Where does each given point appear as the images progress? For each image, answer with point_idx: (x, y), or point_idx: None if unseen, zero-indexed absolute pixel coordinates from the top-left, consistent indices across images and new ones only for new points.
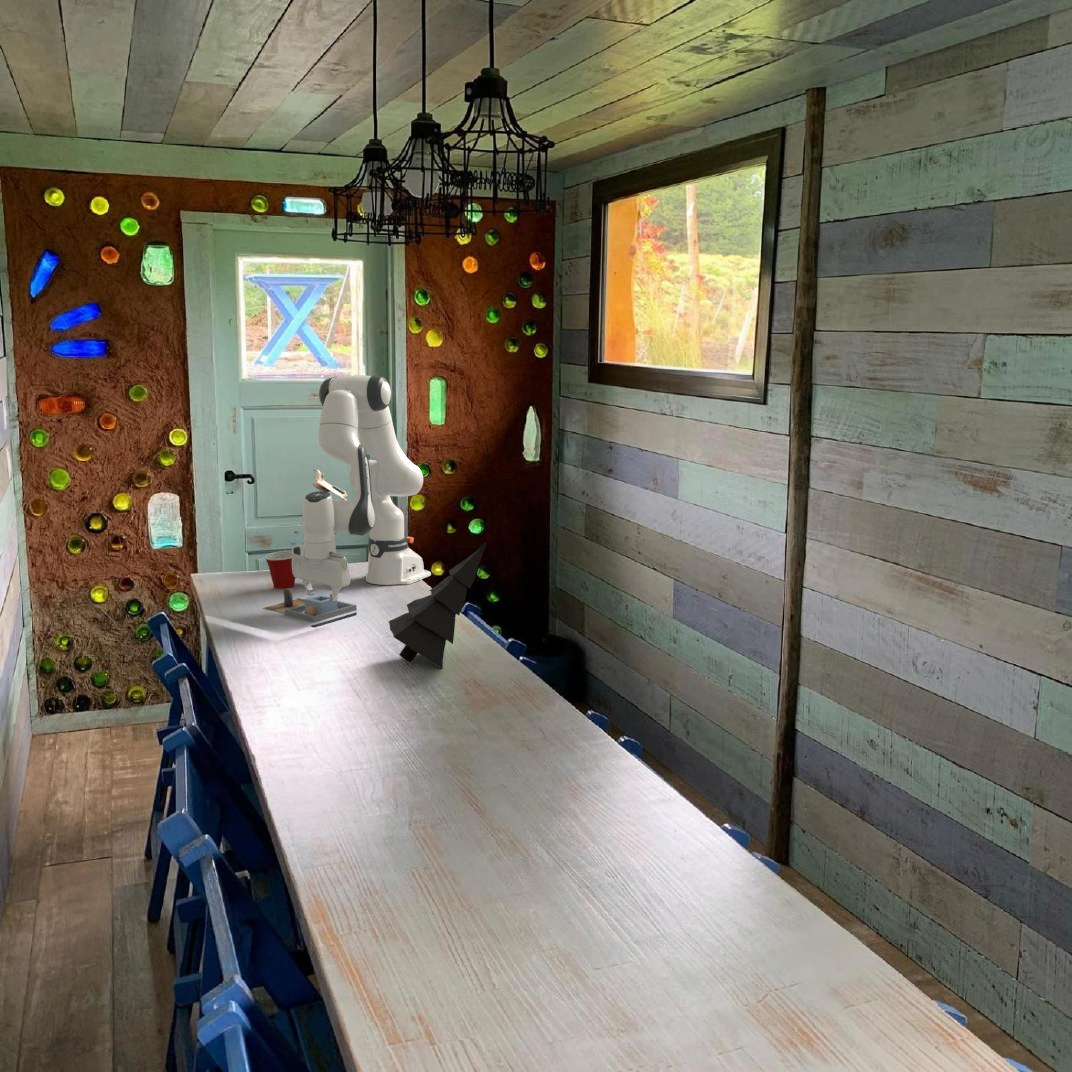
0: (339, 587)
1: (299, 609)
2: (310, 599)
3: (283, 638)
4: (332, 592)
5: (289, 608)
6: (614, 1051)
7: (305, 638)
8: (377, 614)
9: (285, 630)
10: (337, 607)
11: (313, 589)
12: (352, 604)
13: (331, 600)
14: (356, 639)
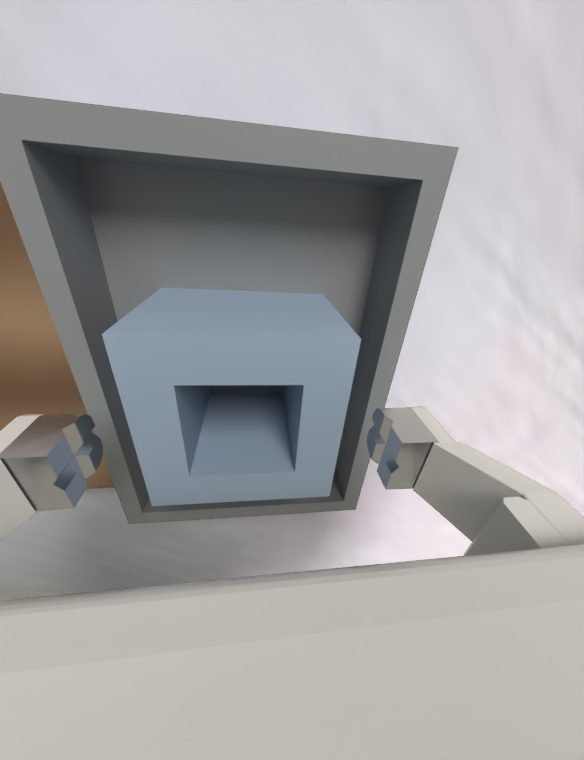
0: (563, 520)
1: (130, 446)
2: (199, 490)
3: (330, 563)
4: (446, 515)
5: (4, 422)
6: None
7: (390, 536)
8: (567, 8)
9: (272, 532)
10: (336, 311)
11: (55, 461)
12: (412, 155)
13: (345, 402)
14: (557, 467)
